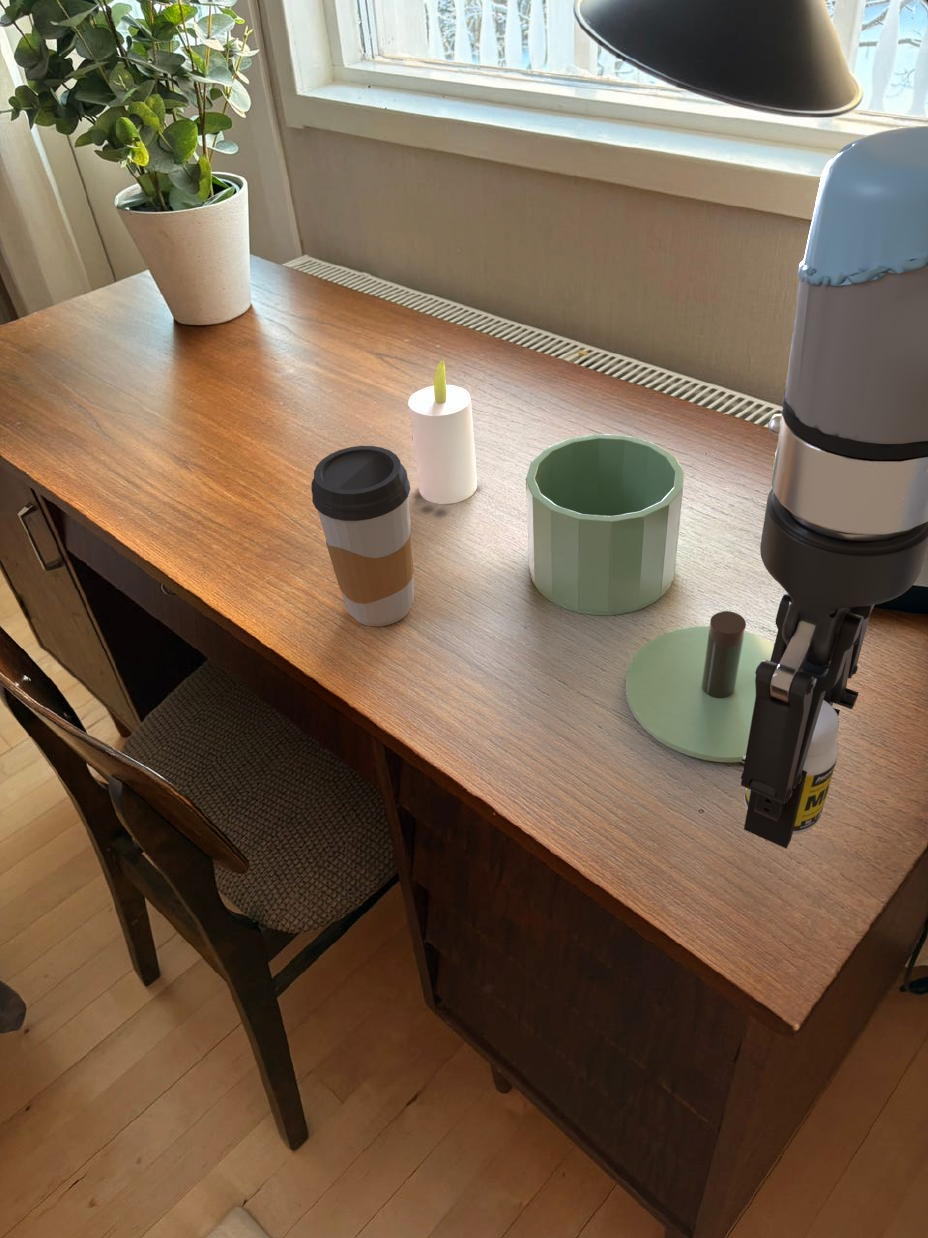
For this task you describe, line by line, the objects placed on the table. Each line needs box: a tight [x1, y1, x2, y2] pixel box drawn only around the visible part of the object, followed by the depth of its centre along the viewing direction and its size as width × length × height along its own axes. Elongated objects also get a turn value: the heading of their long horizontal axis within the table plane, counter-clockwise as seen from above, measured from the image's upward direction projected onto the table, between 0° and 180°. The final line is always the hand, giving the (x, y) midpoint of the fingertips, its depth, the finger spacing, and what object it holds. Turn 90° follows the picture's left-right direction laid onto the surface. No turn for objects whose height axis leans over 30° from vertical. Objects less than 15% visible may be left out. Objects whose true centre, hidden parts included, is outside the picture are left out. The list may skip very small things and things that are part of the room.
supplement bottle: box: [744, 700, 840, 836], centre depth 57 cm, size 5×5×8 cm
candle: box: [407, 359, 478, 505], centre depth 97 cm, size 6×6×15 cm
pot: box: [525, 433, 685, 616], centre depth 86 cm, size 14×14×10 cm
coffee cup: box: [310, 445, 415, 627], centre depth 83 cm, size 8×8×15 cm
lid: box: [625, 610, 775, 763], centre depth 74 cm, size 15×15×8 cm
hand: (783, 803), depth 60 cm, fingers closed on supplement bottle, 5 cm apart
